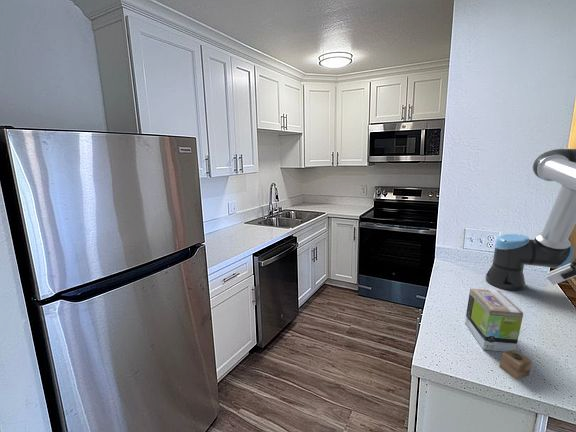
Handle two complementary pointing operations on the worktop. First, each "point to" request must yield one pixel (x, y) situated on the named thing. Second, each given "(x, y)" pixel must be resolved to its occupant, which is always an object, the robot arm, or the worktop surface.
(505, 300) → the tea box
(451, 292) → the worktop surface
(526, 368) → the walnut block
